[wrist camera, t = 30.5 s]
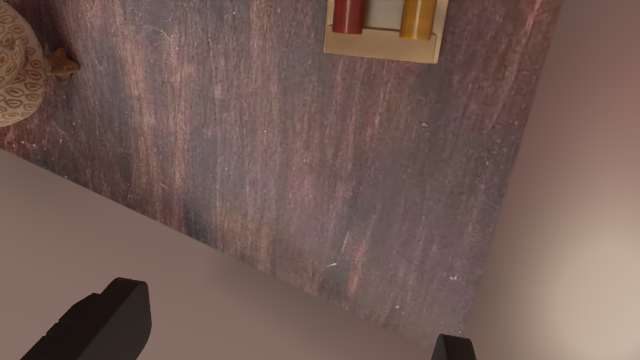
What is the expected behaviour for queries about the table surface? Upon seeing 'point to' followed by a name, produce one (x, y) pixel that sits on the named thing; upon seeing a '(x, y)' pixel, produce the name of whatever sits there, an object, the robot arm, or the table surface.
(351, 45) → the rod rack
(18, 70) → the figurine
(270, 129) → the table surface
